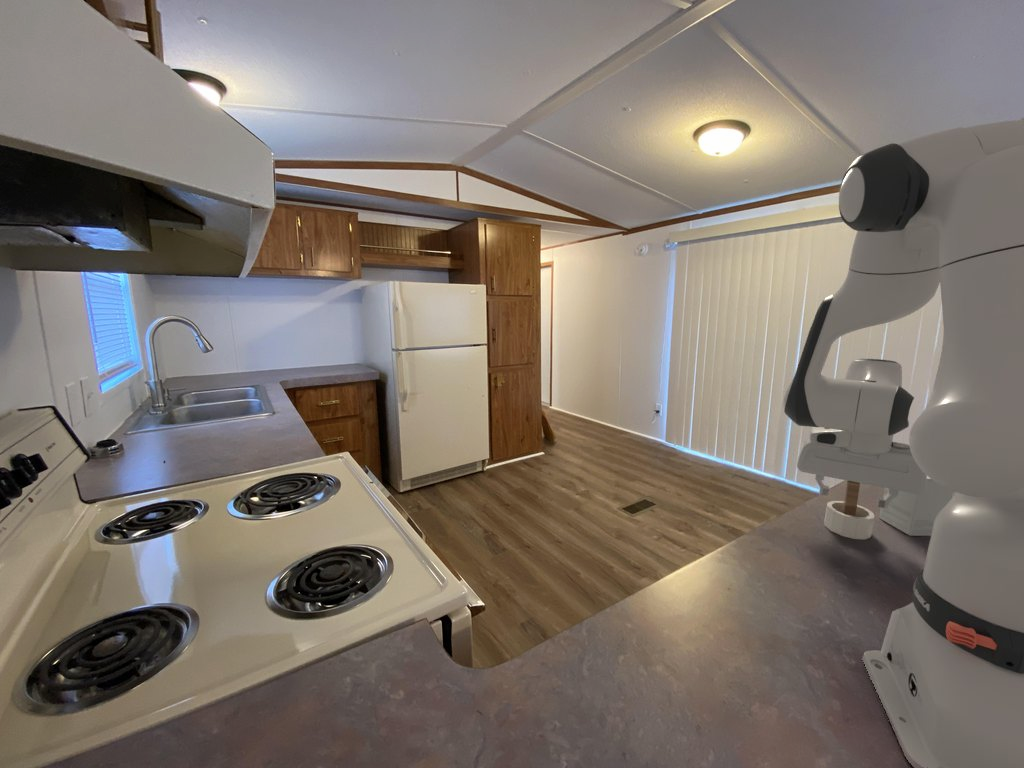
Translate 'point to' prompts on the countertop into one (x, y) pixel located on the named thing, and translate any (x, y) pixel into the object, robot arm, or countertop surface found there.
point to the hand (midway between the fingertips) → (851, 500)
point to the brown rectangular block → (851, 498)
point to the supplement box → (916, 509)
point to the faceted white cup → (849, 521)
